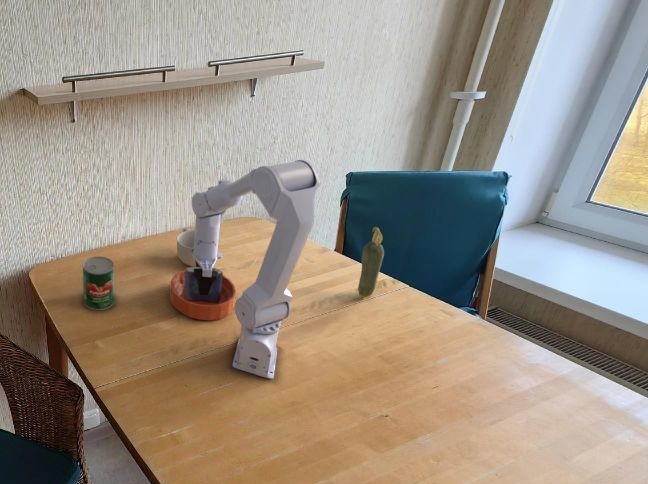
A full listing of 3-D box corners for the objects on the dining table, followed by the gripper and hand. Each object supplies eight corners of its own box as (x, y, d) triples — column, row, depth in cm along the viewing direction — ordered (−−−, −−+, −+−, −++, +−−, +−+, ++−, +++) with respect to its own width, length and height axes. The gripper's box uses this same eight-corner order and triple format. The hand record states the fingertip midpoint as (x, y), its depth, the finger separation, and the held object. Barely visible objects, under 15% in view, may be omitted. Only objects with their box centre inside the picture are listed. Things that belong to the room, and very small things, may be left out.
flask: (183, 301, 109) (185, 265, 105) (183, 294, 111) (185, 259, 108) (220, 304, 107) (224, 267, 104) (219, 297, 110) (222, 261, 106)
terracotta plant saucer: (227, 329, 100) (229, 313, 98) (161, 310, 106) (162, 295, 105) (238, 291, 113) (240, 277, 111) (179, 277, 120) (180, 263, 118)
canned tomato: (103, 288, 116) (102, 253, 112) (120, 303, 109) (120, 266, 105) (78, 298, 112) (76, 262, 108) (94, 314, 105) (93, 277, 101)
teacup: (216, 271, 122) (218, 247, 119) (178, 271, 122) (180, 247, 119) (205, 246, 135) (207, 224, 132) (171, 247, 135) (172, 224, 132)
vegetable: (374, 304, 107) (393, 234, 99) (355, 302, 107) (372, 232, 100) (368, 294, 111) (385, 225, 103) (349, 292, 111) (365, 224, 104)
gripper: (227, 254, 96) (222, 304, 101) (220, 224, 109) (216, 270, 114) (195, 252, 97) (191, 301, 102) (192, 223, 110) (189, 268, 115)
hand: (202, 285), depth 108 cm, fingers open, 7 cm apart
